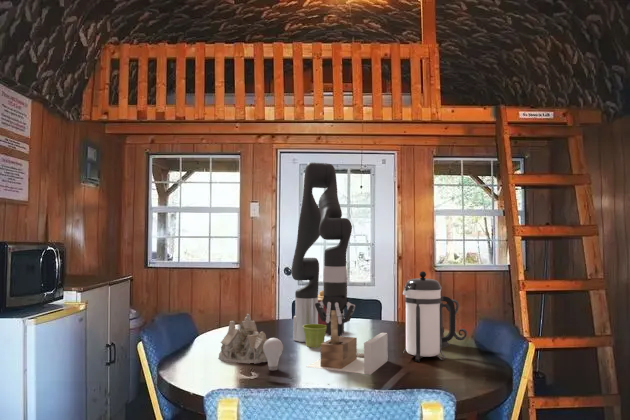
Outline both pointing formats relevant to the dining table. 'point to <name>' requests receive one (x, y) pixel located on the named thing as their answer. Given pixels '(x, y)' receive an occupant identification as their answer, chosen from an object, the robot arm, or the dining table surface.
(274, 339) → the lightbulb
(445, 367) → the dining table surface
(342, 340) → the wooden square-hole block
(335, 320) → the dowel
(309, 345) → the plant pot
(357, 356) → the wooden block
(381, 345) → the l-shaped bookend
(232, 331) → the ceramic cottage
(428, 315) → the coffee press
